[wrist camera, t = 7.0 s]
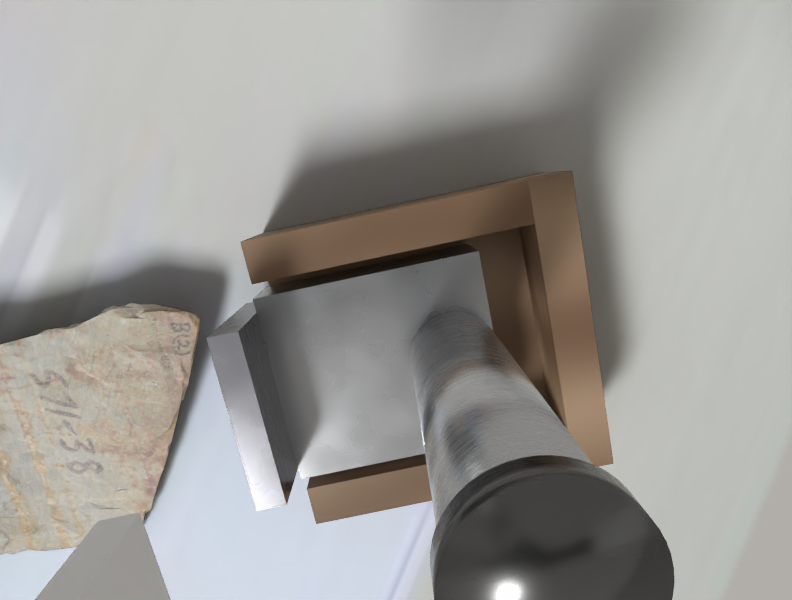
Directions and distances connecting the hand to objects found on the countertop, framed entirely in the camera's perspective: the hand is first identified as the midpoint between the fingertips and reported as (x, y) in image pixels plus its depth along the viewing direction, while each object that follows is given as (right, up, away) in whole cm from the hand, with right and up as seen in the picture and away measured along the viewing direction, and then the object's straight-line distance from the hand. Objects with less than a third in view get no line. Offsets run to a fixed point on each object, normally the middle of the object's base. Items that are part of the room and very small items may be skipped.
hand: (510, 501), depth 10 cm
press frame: (-1, +2, +13) cm, 14 cm away
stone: (-18, -1, +14) cm, 23 cm away
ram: (-3, +2, +12) cm, 13 cm away
